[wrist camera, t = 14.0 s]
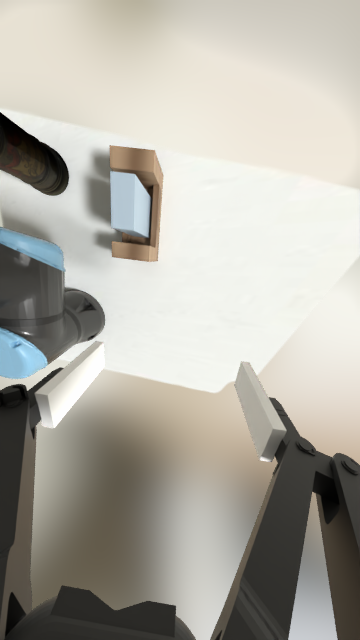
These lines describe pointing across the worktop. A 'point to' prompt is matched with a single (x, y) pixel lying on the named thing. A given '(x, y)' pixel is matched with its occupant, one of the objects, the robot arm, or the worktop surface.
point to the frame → (152, 180)
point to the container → (31, 159)
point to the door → (130, 205)
